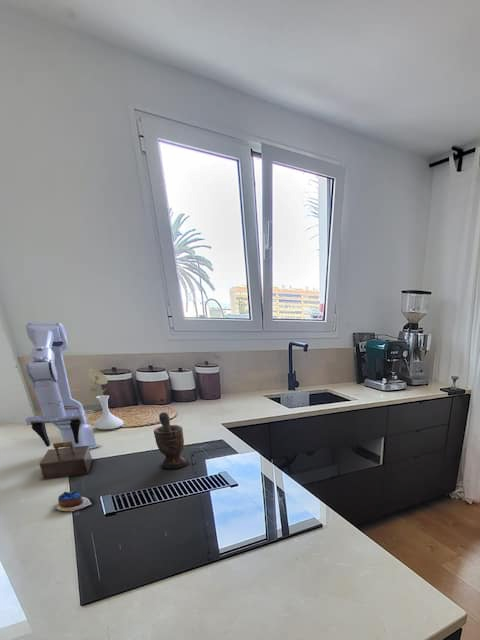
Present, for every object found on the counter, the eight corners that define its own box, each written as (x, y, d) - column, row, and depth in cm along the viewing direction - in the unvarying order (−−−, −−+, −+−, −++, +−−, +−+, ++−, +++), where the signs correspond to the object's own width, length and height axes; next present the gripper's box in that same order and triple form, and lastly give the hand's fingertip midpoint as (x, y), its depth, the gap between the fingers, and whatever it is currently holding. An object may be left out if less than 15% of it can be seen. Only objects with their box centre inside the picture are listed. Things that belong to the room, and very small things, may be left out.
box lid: (48, 451, 131) (44, 438, 129) (89, 447, 136) (85, 434, 134) (39, 465, 119) (35, 452, 117) (84, 460, 124) (80, 447, 122)
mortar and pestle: (195, 468, 132) (186, 410, 124) (168, 475, 127) (157, 414, 119) (182, 459, 140) (173, 403, 132) (157, 464, 135) (145, 407, 127)
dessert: (47, 506, 104) (56, 485, 105) (71, 510, 110) (79, 490, 111) (67, 514, 101) (77, 493, 102) (90, 518, 107) (99, 497, 108)
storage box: (52, 464, 132) (48, 452, 130) (92, 460, 137) (88, 447, 135) (44, 479, 121) (39, 465, 119) (87, 473, 126) (84, 460, 124)
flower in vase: (129, 427, 174) (117, 369, 164) (103, 433, 165) (88, 372, 155) (114, 422, 180) (101, 366, 170) (87, 427, 171) (72, 369, 161)
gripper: (17, 406, 115) (32, 450, 120) (77, 403, 121) (88, 445, 126) (23, 401, 120) (37, 444, 126) (80, 398, 126) (90, 438, 132)
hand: (63, 444), depth 126 cm, fingers open, 7 cm apart
